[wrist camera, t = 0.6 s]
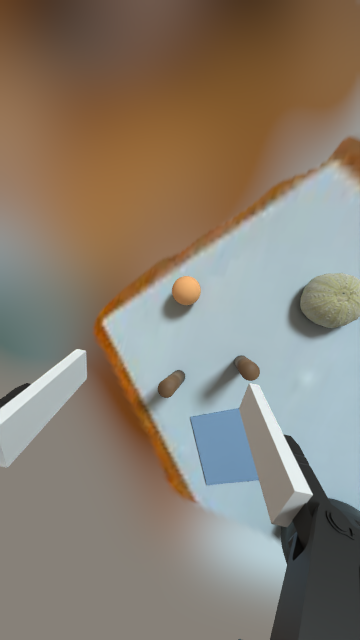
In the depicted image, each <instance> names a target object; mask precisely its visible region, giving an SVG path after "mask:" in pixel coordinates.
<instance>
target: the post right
mask: <svg viewBox="0 0 360 640" xmlns="http://www.w3.org/2000/svg"><path fill="white" fill-rule="evenodd" d="M234 363H235V366H236V367H237V369H238V371H239V372H240V374H241V375H242V377H243V378H244V379H246V380H249V381H252V380H255V379H257V378H258V376H259V374H260V370H259V367H258V366H257V365H256V364H255V363H254V362H252V361H251V360H249V359H248V358H246V357H245V356H238V357H236V358H235V361H234Z"/></svg>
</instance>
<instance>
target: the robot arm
mask: <svg viewBox="0 0 360 640" xmlns="http://www.w3.org/2000/svg"><path fill="white" fill-rule="evenodd" d="M86 367H87V366H86V351H84V350H79V349H76V350H75V351H74V352H72V353H71V354H70V355H69V356H67V357H66V358H65V359H63V360H62V361H61V362H60V363H58V364H57V365H56V366H54V367H53V368H52V369H50V371H48V372H47V373H46V374H44V375H43V376H42V377H40V378H39V379H38V380H36V381H35V382H34V383H33V384H28V383H26V384H24V385H21V386H19V387H17V388H15V389H14V390H12V391H11V392H10V393H8V394H7V395H6V396H5V397H3V398H2V399H0V466H2V467H8V466H9V465H10V464H11V463H12V462H13V461H14V460H15V459H16V457H17V456H18V455H19V454H20V453H21V452H22V451H23V450H24V449H25V447H26V446H27V445H28V444H29V443H30V442H31V441H32V440H33V438H34V437H35V436H36V435H37V434H38V433H39V432H40V430H41V429H42V428H43V427H44V426H45V425H46V424H47V423H48V422H49V420H50V419H51V418H52V417H53V416H54V415H55V414H56V413H57V411H58V410H59V409H60V408H61V407H62V406H63V405H64V404H65V403H66V401H67V400H68V399H69V398H70V397H71V396H72V395H73V393H74V392H75V391H76V390H77V389H78V388H79V387H80V386H81V385H82V383H83V382H84V381H85V380H86V379H87V368H86ZM239 411H240V415H241V418H242V422H243V425H244V429H245V432H246V436H247V439H248V443H249V446H250V450H251V453H252V457H253V460H254V464H255V467H256V471H257V475H258V478H259V482H260V485H261V489H262V492H263V496H264V499H265V503H266V506H267V510H268V513H269V517H270V520H271V524H275V525H279V526H282V532H281V542H282V549H283V553H284V556H285V559H286V562H287V569H286V573H285V577H284V581H283V586H282V590H281V594H280V599H279V603H278V607H277V612H276V616H275V620H274V625H273V629H272V633H271V638H270V640H360V511H358V510H357V509H355V508H354V507H352V506H350V505H348V504H346V503H343V502H341V501H338V500H334V499H329V498H327V496H326V494H325V492H324V490H323V489H322V487H321V485H320V483H319V481H318V479H317V478H316V476H315V474H314V472H313V470H312V468H311V467H310V466H309V463H308V461H307V459H306V458H305V457H304V454H303V452H302V450H301V448H300V447H299V445H298V444H297V443H296V442H295V440H294V439H293V438H292V437H291V436H288V435H283V433H282V431H281V429H280V427H279V425H278V423H277V421H276V419H275V417H274V415H273V413H272V411H271V409H270V407H269V405H268V403H267V401H266V398H265V396H264V394H263V392H262V390H261V388H260V386H259V385H256V384H251V383H249V385H248V387H247V390H246V392H245V395H244V397H243V400H242V403H241V405H240V408H239ZM239 640H241V639H239Z"/></svg>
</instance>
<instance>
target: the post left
mask: <svg viewBox="0 0 360 640" xmlns="http://www.w3.org/2000/svg"><path fill="white" fill-rule="evenodd" d="M184 380H185V374H184V372H183V371H181V370H176V371H175V372H173V373H172V374H171V375H170V376H168V377H167V378H166V379H164V380H163V381H162V382H160V384H159V386H158V392H159V394H160V395H161V396H162V397H164V398H169V397H171V396H172V395H173V394H174V392H175V391H176V390H177V389H178V387H179V386H180V385H181V384H182V382H183V381H184Z"/></svg>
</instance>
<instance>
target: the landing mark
mask: <svg viewBox="0 0 360 640" xmlns="http://www.w3.org/2000/svg"><path fill="white" fill-rule="evenodd" d="M190 418H191V422H192V426H193V430H194V434H195V438H196V443H197V447H198V451H199V455H200V459H201V463H202V467H203V471H204V475H205V479H206V484H207V485H213V484H223V483H233V482H243V481H253V480H259V478H258V475H257V471H256V467H255V464H254V460H253V457H252V453H251V450H250V446H249V443H248V439H247V436H246V432H245V429H244V425H243V422H242V418H241V415H240V411H239V408H238V409H233V410H227V411H221V412H216V413H210V414H205V415H199V416H193V417H190Z"/></svg>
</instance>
